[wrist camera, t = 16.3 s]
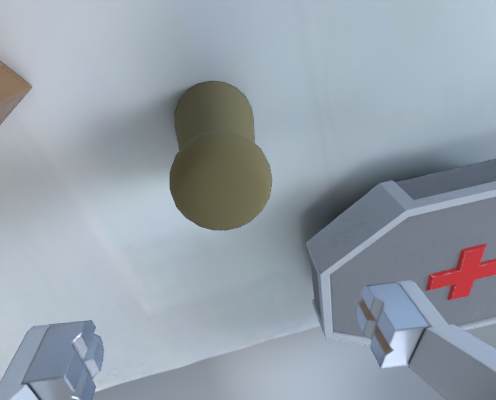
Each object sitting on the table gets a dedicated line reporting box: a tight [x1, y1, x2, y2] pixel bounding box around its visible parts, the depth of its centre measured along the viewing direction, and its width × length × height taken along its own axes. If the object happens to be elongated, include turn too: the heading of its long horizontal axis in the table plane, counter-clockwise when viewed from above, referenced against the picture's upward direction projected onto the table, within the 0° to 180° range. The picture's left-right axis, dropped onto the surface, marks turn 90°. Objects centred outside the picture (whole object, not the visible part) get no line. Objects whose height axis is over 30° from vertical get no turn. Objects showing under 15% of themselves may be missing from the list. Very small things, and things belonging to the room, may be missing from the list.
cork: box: [170, 81, 272, 230], centre depth 19 cm, size 6×6×11 cm
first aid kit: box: [306, 159, 496, 345], centre depth 29 cm, size 18×8×25 cm
